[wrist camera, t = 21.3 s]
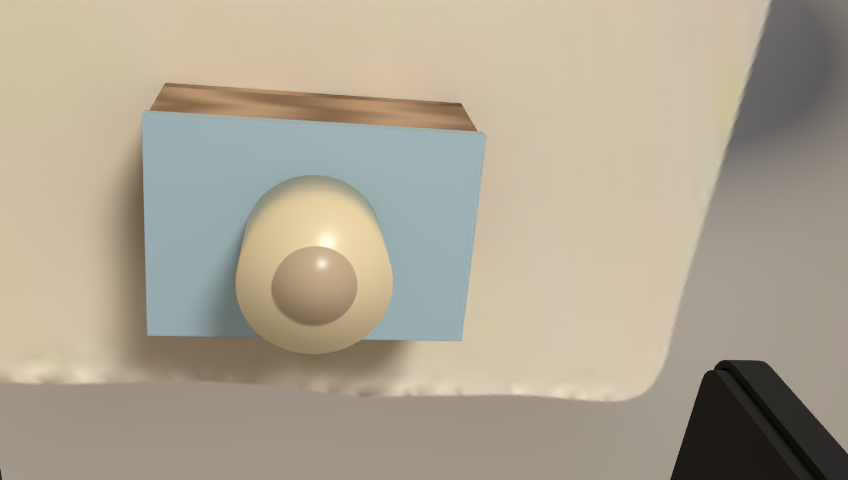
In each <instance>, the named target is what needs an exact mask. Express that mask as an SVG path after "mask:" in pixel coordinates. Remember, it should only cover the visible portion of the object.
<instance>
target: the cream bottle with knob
mask: <svg viewBox="0 0 848 480" xmlns="http://www.w3.org/2000/svg"><path fill="white" fill-rule="evenodd" d="M235 284H236V295H237V300H238V303H239V306H240V309H241V311H242V313H243V315H244V317H245V319H246V320H247V322H248V323H249V324H250V326H251V327H252V328H253V329H254V330H255V331H256V332H257V333H258V334H259V335H260V336H261V337H263V338H264V339H265V340H267V341H268V342H270V343H271V344H273V345H275V346H277V347H279V348H282V349H284V350H287V351H290V352H295V353H300V354H310V355H315V354H326V353H332V352H336V351H339V350H342V349H345V348H347V347H350V346H352V345H353V344H355V343H357V342H359V341H360V340H362V339H363V338H364V337H366V336H367V335H368V334H369V333H370V332H371V331H372V330H373V329H374V328H375V327H376V326H377V325H378V323H379V322H380V321H381V319H382V318H383V316H384V314H385V312H386V310H387V308H388V306H389V303H390V300H391V296H392V290H393V274H392V268H391V264H390V260H389V257H388V253H387V250H386V246H385V242H384V239H383V235H382V232H381V228H380V225H379V221H378V218H377V216H376V213H375V211H374V209H373V208H372V206H371V204H370V203H369V202H368V200H367V199H366V198H365V197H364V196H363V195H362V194H361V193H360V192H359V191H358V190H356V189H355V188H354V187H352V186H351V185H349V184H347V183H345V182H343V181H341V180H338V179H335V178H332V177H328V176H321V175H305V176H298V177H295V178H291V179H288V180H286V181H283V182H281V183H279V184H277V185H276V186H274V187H272V188H271V189H270V190H268V191H267V192H266V193H265V194H264V195H263V196H262V197H261V198H260V199H259V200H258V202H257V203H256V204H255V205H254V207H253V209H252V211H251V213H250V215H249V217H248V220H247V223H246V228H245V232H244V237H243V242H242V247H241V252H240V257H239V262H238V267H237V272H236V282H235Z"/></svg>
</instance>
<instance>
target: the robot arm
mask: <svg viewBox="0 0 848 480" xmlns="http://www.w3.org/2000/svg"><path fill="white" fill-rule="evenodd" d="M0 480H2V477H1V471H0ZM670 480H848V454H847V453H846V451H845V450H844V449H843V448H842V447H841V446H840V445H839V444H838V442H837V441H836V440H835V439H834V438H833V437H832V436H831V435H830V433H829V432H828V431H827V430H826V429H825V428H824V427H823V425H821V423H820V422H819V421H818V420H817V419H816V418H815V416H813V414H812V413H811V412H810V411H809V410H808V409H807V407H806V406H805V405H804V404H803V403H802V402H801V401H800V399H799V398H798V397H797V396H796V395H795V394H794V393H793V392H792V390H791V389H790V388H789V387H788V386H787V385H786V384H785V383H784V381H783V380H782V379H781V378H780V377H779V376H778V375H777V374H776V373H775V371H774V370H773V369H772V368H771V367H770V366H769V365H768V364H767V363H765V362H763V361H754V360H753V361H752V360H723V361H720V362H719V363H718V364H717V365H716V366H715V368H714V370H710V371H707V373H705V375H704V377H703V379H702V382H701V385H700V388H699V391H698V394H697V397H696V400H695V404H694V407H693V410H692V413H691V416H690V419H689V422H688V426H687V429H686V432H685V435H684V438H683V442H682V445H681V448H680V451H679V454H678V457H677V460H676V463H675V467H674V470H673V473H672V476H671V479H670Z"/></svg>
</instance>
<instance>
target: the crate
mask: <svg viewBox="0 0 848 480" xmlns="http://www.w3.org/2000/svg"><path fill="white" fill-rule="evenodd" d="M149 111H164V112H179V113H195V114H211V115H226V116H242V117H258V118H274V119H289V120H305V121H321V122H336V123H352V124H368V125H383V126H399V127H415V128H430V129H446V130H462V131H477V130H476V128H475V126H474V125H473V123H472V121H471V119H470V118H469V116H468V114H467V113H466V111H465V109H464V108H463V106H462V104H459V103H445V102H431V101H416V100H402V99H387V98H373V97H359V96H344V95H330V94H315V93H301V92H287V91H272V90H258V89H243V88H229V87H215V86H200V85H186V84H172V83H165V85H164V86H163V88H162V90H161V92H160V93H159V95H158V97H157V98H156V100H155V102H154V104H153V105H152V107H151V109H150V110H149ZM477 132H478V131H477Z"/></svg>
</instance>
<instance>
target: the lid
mask: <svg viewBox="0 0 848 480" xmlns="http://www.w3.org/2000/svg"><path fill="white" fill-rule="evenodd" d="M485 143H486V135H485V134H484V133H483V132H477V131H462V130H446V129H430V128H415V127H399V126H383V125H368V124H352V123H336V122H321V121H305V120H289V119H274V118H258V117H242V116H226V115H211V114H195V113H179V112H164V111H148V110H145V111H144V112H143V113H142V149H143V190H144V231H145V272H146V313H147V335H149V336H202V337H255V338H263V337H261V336H260V335H259V334H258V333H257V332H256V331H255V330H254V329H253V328H252V327H251V326H250V324H249V323H248V322H247V320H246V319H245V317H244V315H243V313H242V311H241V309H240V306H239V303H238V300H237V295H236V284H235V282H236V272H237V267H238V262H239V257H240V252H241V247H242V242H243V237H244V232H245V228H246V223H247V220H248V217H249V215H250V213H251V211H252V209H253V207H254V205H255V204H256V203H257V202H258V200H259V199H260V198H261V197H262V196H263V195H264V194H265V193H266V192H267V191H268V190H270V189H271V188H272V187H274V186H276V185H277V184H279V183H281V182H283V181H286V180H288V179H291V178H295V177H298V176H305V175H321V176H328V177H332V178H335V179H338V180H341V181H343V182H345V183H347V184H349V185H351V186H352V187H354V188H355V189H356V190H358V191H359V192H360V193H361V194H362V195H363V196H364V197H365V198H366V199H367V200H368V202H369V203H370V204H371V206H372V208H373V209H374V211H375V213H376V216H377V218H378V221H379V225H380V228H381V232H382V235H383V239H384V242H385V246H386V250H387V253H388V257H389V260H390V264H391V268H392V274H393V290H392V296H391V300H390V303H389V306H388V308H387V310H386V312H385V314H384V316H383V318H382V319H381V321H380V322H379V323H378V325H377V326H376V327H375V328H374V329H373V330H372V331H371V332H370V333H369V334H368V335H367V336H366V337H364V338H363V339H362V340H414V341H462V332H463V324H464V316H465V308H466V300H467V291H468V283H469V275H470V267H471V258H472V250H473V242H474V234H475V225H476V217H477V209H478V201H479V193H480V184H481V176H482V168H483V160H484V151H485Z"/></svg>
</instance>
